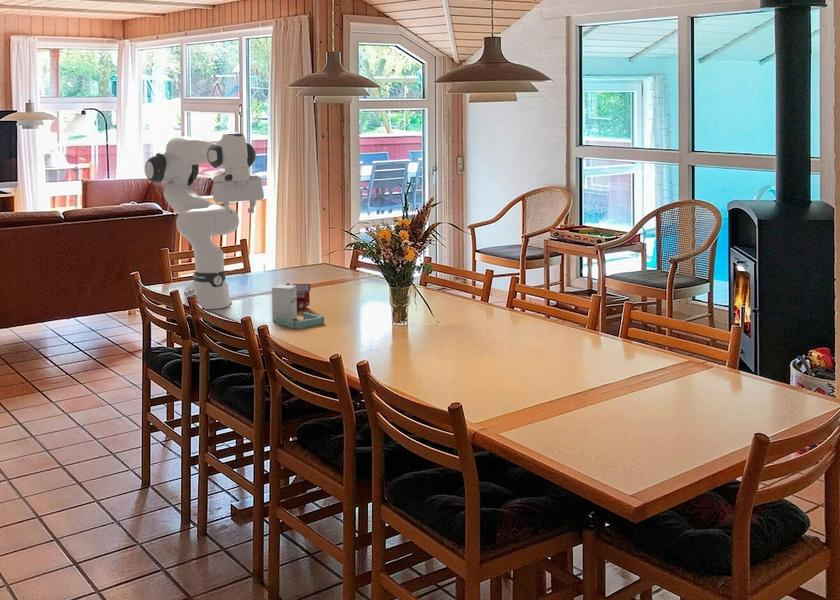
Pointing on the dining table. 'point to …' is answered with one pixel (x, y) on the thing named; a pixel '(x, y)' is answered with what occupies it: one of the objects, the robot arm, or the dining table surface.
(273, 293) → the supplement box
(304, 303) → the toy fire truck
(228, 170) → the robot arm
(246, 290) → the dining table surface
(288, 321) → the tray
